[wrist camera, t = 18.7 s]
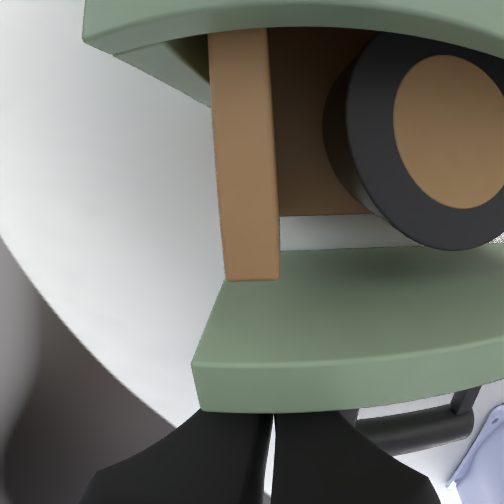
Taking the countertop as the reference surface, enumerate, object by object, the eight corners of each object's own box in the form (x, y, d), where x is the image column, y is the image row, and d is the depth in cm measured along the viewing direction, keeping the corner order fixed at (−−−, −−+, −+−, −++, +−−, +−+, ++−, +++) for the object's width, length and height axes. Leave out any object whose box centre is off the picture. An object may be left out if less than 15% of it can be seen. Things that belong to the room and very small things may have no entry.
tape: (473, 219, 8) (532, 248, 5) (325, 221, 9) (347, 257, 6) (468, 64, 7) (527, 45, 4) (315, 45, 7) (331, -2, 4)
